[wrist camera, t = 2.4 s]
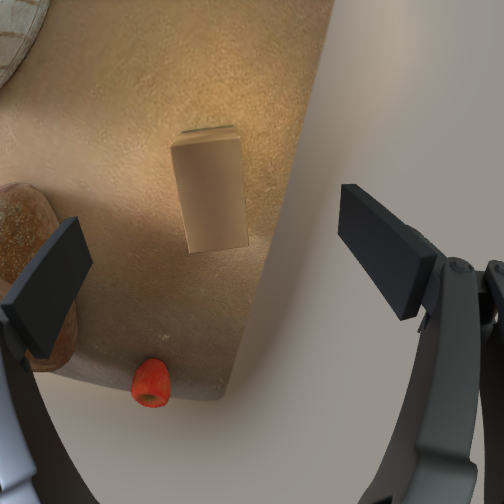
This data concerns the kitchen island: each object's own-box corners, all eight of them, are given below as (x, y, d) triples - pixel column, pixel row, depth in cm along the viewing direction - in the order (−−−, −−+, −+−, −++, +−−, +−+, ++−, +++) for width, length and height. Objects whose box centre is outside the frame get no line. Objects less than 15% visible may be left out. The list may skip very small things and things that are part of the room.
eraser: (233, 125, 26) (240, 137, 19) (240, 208, 31) (249, 246, 24) (181, 131, 26) (170, 146, 19) (194, 214, 31) (189, 253, 24)
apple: (129, 353, 41) (121, 392, 35) (164, 350, 41) (160, 390, 35) (143, 375, 44) (139, 412, 38) (177, 373, 45) (175, 411, 38)
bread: (16, 333, 37) (-6, 382, 27) (-16, 171, 23) (-72, 210, 13) (91, 355, 41) (76, 412, 31) (80, 185, 27) (28, 235, 17)
